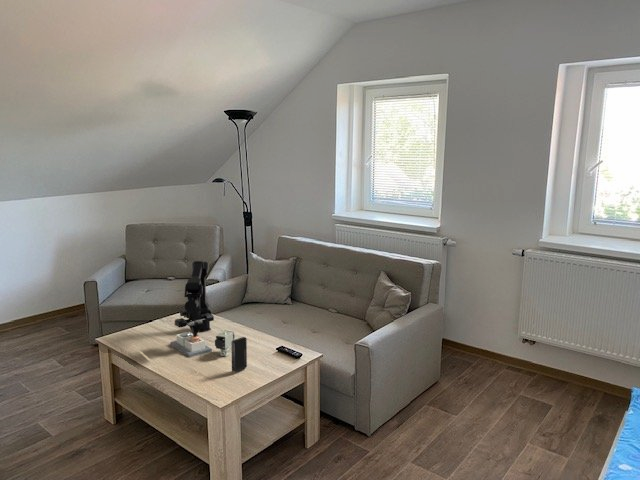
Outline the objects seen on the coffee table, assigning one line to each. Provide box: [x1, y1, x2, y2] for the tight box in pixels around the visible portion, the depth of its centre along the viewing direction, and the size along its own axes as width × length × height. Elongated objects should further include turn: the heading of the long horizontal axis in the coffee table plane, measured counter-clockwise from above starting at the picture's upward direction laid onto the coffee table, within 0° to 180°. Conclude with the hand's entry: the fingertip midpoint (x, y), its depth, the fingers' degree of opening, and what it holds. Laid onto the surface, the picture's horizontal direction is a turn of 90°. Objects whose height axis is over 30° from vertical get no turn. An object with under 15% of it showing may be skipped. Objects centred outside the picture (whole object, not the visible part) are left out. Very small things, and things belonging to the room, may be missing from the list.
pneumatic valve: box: [214, 330, 236, 358], centre depth 243 cm, size 6×12×12 cm, turn 161°
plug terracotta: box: [190, 334, 201, 343], centre depth 248 cm, size 5×5×5 cm
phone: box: [230, 336, 248, 373], centre depth 225 cm, size 8×1×15 cm, turn 138°
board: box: [169, 332, 213, 358], centre depth 252 cm, size 12×22×6 cm, turn 40°
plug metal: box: [180, 331, 192, 338], centre depth 255 cm, size 5×5×5 cm
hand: (194, 336), depth 247 cm, fingers closed, pressing on plug terracotta
